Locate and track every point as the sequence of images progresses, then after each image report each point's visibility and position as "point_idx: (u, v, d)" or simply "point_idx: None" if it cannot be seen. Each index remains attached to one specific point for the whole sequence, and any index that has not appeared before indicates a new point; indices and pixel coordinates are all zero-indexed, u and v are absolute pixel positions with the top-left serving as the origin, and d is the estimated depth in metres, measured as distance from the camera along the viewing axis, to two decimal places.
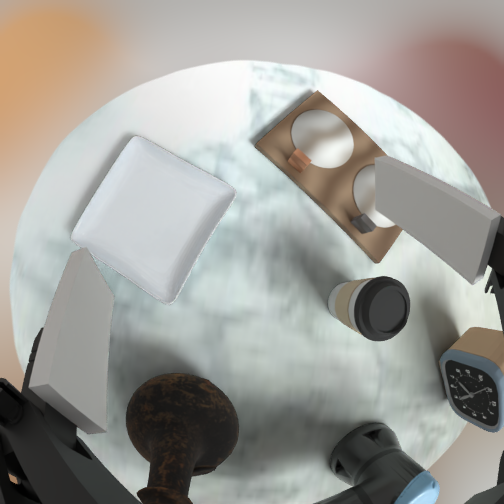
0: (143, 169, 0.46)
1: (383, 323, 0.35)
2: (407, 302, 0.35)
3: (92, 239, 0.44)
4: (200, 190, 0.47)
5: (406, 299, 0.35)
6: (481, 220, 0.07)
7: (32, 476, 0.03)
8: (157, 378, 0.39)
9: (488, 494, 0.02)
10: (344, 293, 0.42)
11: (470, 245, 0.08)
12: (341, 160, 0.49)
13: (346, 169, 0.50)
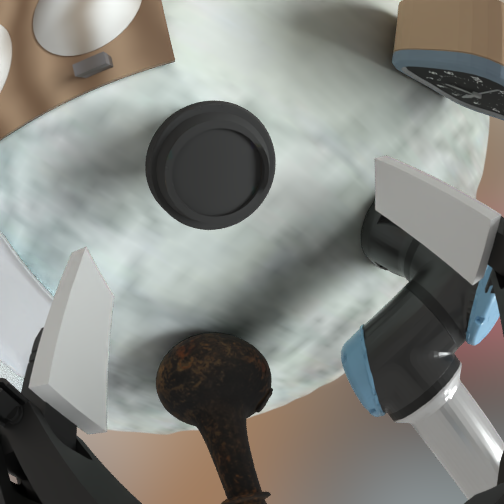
0: None
1: (230, 195, 0.19)
2: (232, 126, 0.16)
3: (24, 359, 0.36)
4: None
5: (225, 125, 0.16)
6: (481, 220, 0.07)
7: (32, 476, 0.03)
8: (156, 385, 0.38)
9: (488, 494, 0.02)
10: None
11: (470, 245, 0.08)
12: (5, 54, 0.16)
13: (21, 49, 0.17)
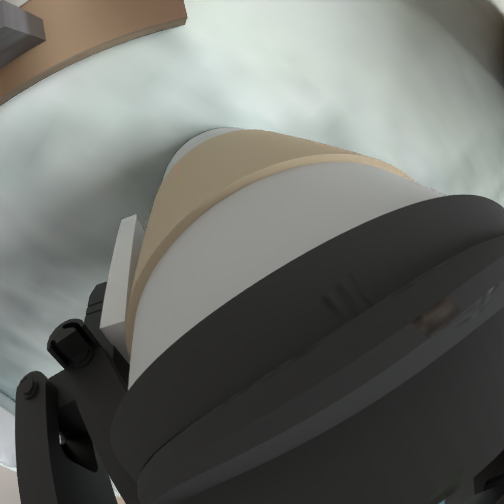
0: None
1: None
2: None
3: (8, 451, 0.21)
4: None
5: None
6: None
7: (91, 422, 0.04)
8: None
9: (488, 494, 0.02)
10: None
11: None
12: None
13: None
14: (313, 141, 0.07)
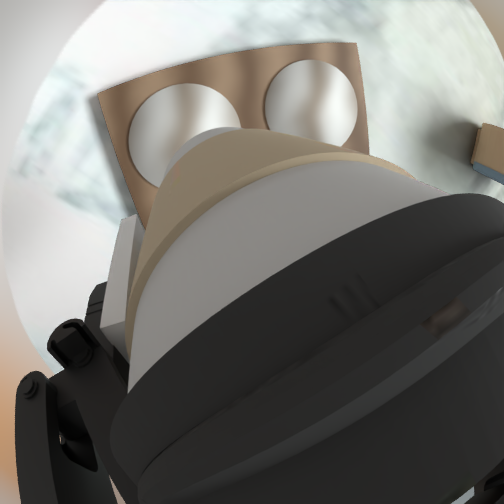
0: None
1: None
2: None
3: None
4: None
5: None
6: None
7: (91, 422, 0.04)
8: None
9: (489, 494, 0.02)
10: None
11: None
12: None
13: None
14: (315, 140, 0.07)
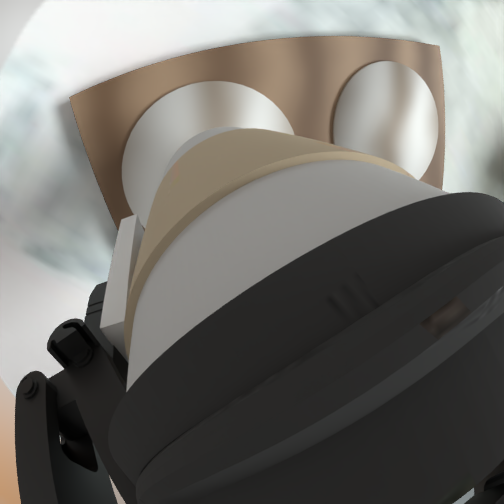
0: None
1: None
2: None
3: None
4: None
5: None
6: None
7: (91, 422, 0.04)
8: None
9: (488, 494, 0.02)
10: None
11: None
12: None
13: None
14: None
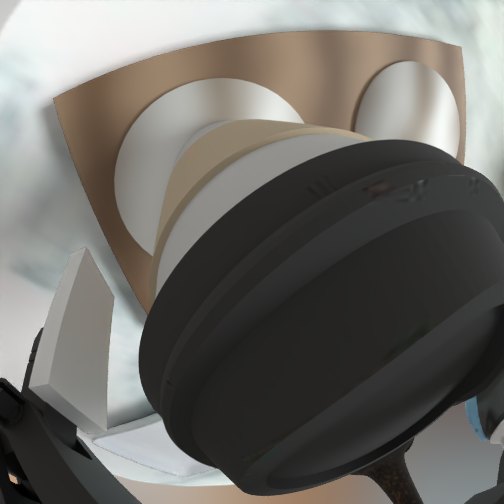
0: (137, 432, 0.29)
1: (399, 427, 0.06)
2: None
3: (191, 462, 0.37)
4: None
5: (501, 296, 0.03)
6: None
7: (32, 476, 0.03)
8: None
9: (488, 494, 0.02)
10: None
11: None
12: None
13: None
14: None
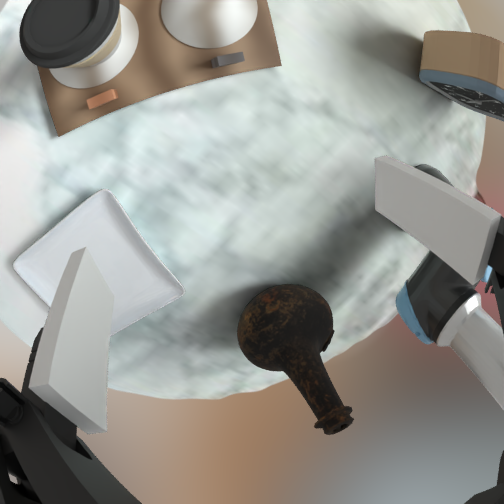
0: (47, 263, 0.37)
1: (70, 28, 0.13)
2: None
3: None
4: (88, 218, 0.36)
5: None
6: (481, 220, 0.07)
7: (32, 476, 0.03)
8: (240, 333, 0.48)
9: (488, 494, 0.02)
10: None
11: (470, 245, 0.08)
12: (132, 34, 0.25)
13: (148, 33, 0.26)
14: None
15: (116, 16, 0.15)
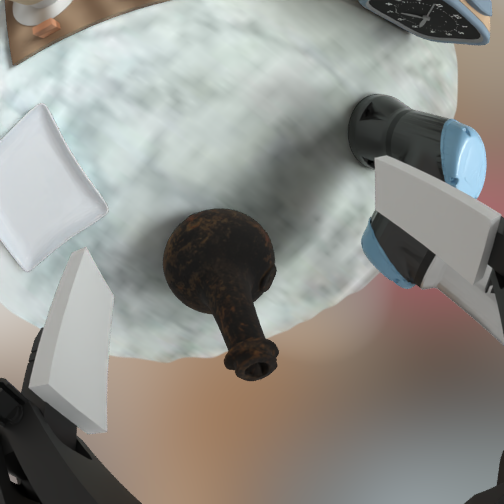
0: None
1: None
2: None
3: (33, 251, 0.41)
4: (28, 135, 0.32)
5: None
6: (481, 220, 0.07)
7: (32, 476, 0.03)
8: (163, 259, 0.43)
9: (488, 494, 0.02)
10: None
11: (470, 245, 0.08)
12: None
13: None
14: None
15: None
